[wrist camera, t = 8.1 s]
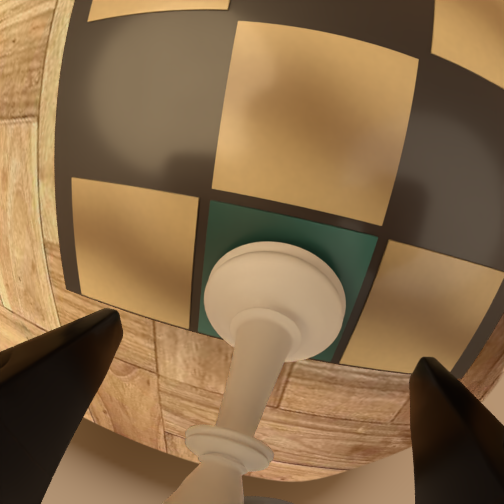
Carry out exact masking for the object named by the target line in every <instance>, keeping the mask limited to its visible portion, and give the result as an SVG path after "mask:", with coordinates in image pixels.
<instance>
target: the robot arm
mask: <svg viewBox="0 0 504 504" xmlns="http://www.w3.org/2000/svg"><path fill="white" fill-rule="evenodd" d="M122 337H123V329H122V324H121V320H120V315H119V313H118V311H116V310H114V309H110V308H104V309H102V310H99V311H97V312H95V313H92V314H90V315H87V316H85V317H83V318H80V319H78V320H75V321H73V322H71V323H68V324H66V325H63V326H61V327H59V328H56V329H54V330H51V331H49V332H47V333H44V334H42V335H40V336H37V337H35V338H32V339H30V340H28V341H25V342H23V343H21V344H18V345H16V346H14V347H11V348H9V349H6V350H4V351H1V352H0V504H41V502H42V500H43V497H44V495H45V493H46V491H47V488H48V486H49V484H50V482H51V480H52V477H53V475H54V473H55V471H56V469H57V467H58V465H59V463H60V461H61V459H62V457H63V455H64V453H65V451H66V449H67V447H68V445H69V443H70V441H71V439H72V437H73V435H74V433H75V431H76V429H77V428H78V426H79V424H80V422H81V420H82V418H83V416H84V414H85V413H86V411H87V409H88V407H89V405H90V403H91V402H92V400H93V398H94V396H95V394H96V392H97V391H98V389H99V387H100V385H101V384H102V382H103V380H104V378H105V376H106V374H107V372H108V370H109V367H110V365H111V363H112V360H113V358H114V356H115V353H116V351H117V349H118V347H119V345H120V342H121V340H122ZM409 389H410V429H411V440H412V450H413V463H414V480H415V504H504V426H503V425H502V424H501V423H500V422H499V421H498V420H497V419H496V417H495V416H494V415H493V414H492V413H491V412H490V411H489V410H488V409H487V408H486V407H485V406H484V405H483V404H482V403H481V402H480V401H479V400H478V399H477V398H476V397H475V396H474V395H473V394H472V393H471V392H470V391H469V390H468V389H467V388H466V387H465V386H464V385H463V384H462V383H461V382H460V381H459V380H458V379H457V378H456V377H454V376H453V375H452V374H451V373H450V372H449V371H448V370H447V369H446V368H445V367H444V366H443V365H442V364H441V363H440V362H439V361H438V360H437V359H436V358H434V357H421V358H420V360H419V361H418V363H417V365H416V367H415V369H414V371H413V373H412V375H411V377H410V381H409Z"/></svg>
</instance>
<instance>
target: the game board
mask: <svg viewBox="0 0 504 504" xmlns="http://www.w3.org/2000/svg"><path fill="white" fill-rule="evenodd" d="M54 166H55V199H56V214H57V226H58V236H59V245H60V253H61V260H62V267H63V274H64V280H65V285H66V289H67V290H69V291H72V292H74V293H77V294H80V295H82V296H85V297H88V298H90V299H93V300H96V301H98V302H101V303H104V304H107V305H110V306H113V307H115V308H118V309H121V310H124V311H127V312H130V313H133V314H136V315H139V316H142V317H145V318H149V319H152V320H155V321H158V322H161V323H165V324H168V325H171V326H175V327H178V328H182V329H185V330H189V331H192V332H196V333H199V334H203V335H207V336H210V337H214V338H218V339H222V340H224V339H223V338H222V337H221V336H220V335H219V334H218V333H217V332H216V331H215V329H214V328H213V326H212V325H211V323H210V321H209V319H208V317H207V314H206V311H205V306H204V292H205V288H206V285H207V282H208V280H209V276H210V273H211V271H212V269H213V267H214V266H215V264H216V263H217V262H218V261H219V260H220V259H221V258H222V257H223V256H224V255H225V254H227V253H228V252H230V251H231V250H233V249H235V248H237V247H239V246H242V245H245V244H249V243H254V242H264V241H270V242H281V243H286V244H291V245H294V246H297V247H300V248H302V249H305V250H307V251H309V252H311V253H312V254H314V255H316V256H317V257H319V258H320V259H321V260H323V261H324V262H325V263H326V264H327V265H328V266H329V267H330V268H331V269H332V270H333V271H334V273H335V274H336V275H337V277H338V279H339V280H340V282H341V284H342V287H343V290H344V293H345V298H346V309H345V315H344V318H343V323H342V327H341V330H340V332H339V334H338V336H337V337H336V339H335V340H334V341H333V343H332V344H331V345H330V346H329V347H327V348H326V349H325V350H324V351H322V352H321V353H319V354H317V355H315V356H313V357H310V358H308V359H311V360H316V361H322V362H328V363H333V364H339V365H345V366H351V367H358V368H364V369H371V370H378V371H386V372H394V373H402V374H411V375H412V373H413V371H414V369H415V367H416V365H417V363H418V361H419V360H420V358H421V357H434V358H436V359H437V360H438V361H439V362H440V363H441V364H442V365H443V366H444V367H445V368H446V369H447V370H448V371H449V372H450V373H451V374H452V375H453V376H454V377H456V378H457V379H462V378H463V376H464V375H465V373H466V372H467V371H468V369H469V368H470V366H471V365H472V363H473V362H474V361H475V359H476V358H477V356H478V355H479V353H480V351H481V350H482V348H483V347H484V345H485V344H486V342H487V340H488V339H489V337H490V335H491V334H492V332H493V330H494V329H495V327H496V325H497V324H498V322H499V320H500V318H501V316H502V315H503V313H504V0H75V2H74V6H73V10H72V14H71V18H70V23H69V27H68V32H67V37H66V42H65V47H64V53H63V59H62V65H61V72H60V79H59V88H58V97H57V109H56V124H55V156H54Z"/></svg>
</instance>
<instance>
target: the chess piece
mask: <svg viewBox="0 0 504 504" xmlns="http://www.w3.org/2000/svg"><path fill="white" fill-rule="evenodd" d="M204 306H205V311H206V314H207V317H208V319H209V321H210V323H211V325H212V326H213V328H214V329H215V331H216V332H217V333H218V334H219V335H220V336H221V337H222V338H223V339H224V340H225V341H226V342H227V343H228V344H230V345H231V346H232V347H234V351H233V356H232V361H231V365H230V370H229V375H228V379H227V383H226V388H225V392H224V396H223V400H222V403H221V407H220V411H219V415H218V419H217V422H216V426H215V425H194V426H191V427H189V428H188V429H187V430H186V439H185V444H186V446H187V447H188V449H189V450H190V451H192V452H193V453H194V454H195V455H197V456H198V459H199V461H200V462H201V463H200V464H199V466H197V467H196V468H195V469H194V470H193V471H192V472H191V473H190V474H189V475H188V476H187V477H186V479H185V480H184V481H183V482H182V484H181V485H180V487H179V488H178V489H177V490H176V491H175V492H174V493H173V494H172V495H171V496H170V497H169V498H168V499H167V500H165V501H164V502H163V503H162V504H243V503H244V493H243V484H242V475H244V474H246V473H247V472H252V471H260V470H264V469H266V468H267V467H268V466H269V462H271V461H272V460H273V458H274V453H273V451H272V450H271V448H270V447H269V446H267V445H266V444H265V443H263V442H262V441H260V440H258V439H256V438H254V437H253V436H254V434H255V431H256V429H257V427H258V424H259V422H260V419H261V417H262V414H263V412H264V409H265V407H266V404H267V402H268V400H269V397H270V395H271V392H272V390H273V388H274V385H275V383H276V381H277V378H278V376H279V374H280V371H281V369H282V366H283V364H284V362H295V361H300V360H304V359H308V358H310V357H313V356H315V355H317V354H319V353H321V352H322V351H324V350H325V349H326V348H327V347H329V346H330V345H331V344H332V343H333V341H334V340H335V339H336V337H337V336H338V334H339V332H340V330H341V327H342V323H343V318H344V315H345V309H346V298H345V293H344V290H343V287H342V284H341V282H340V280H339V279H338V277H337V275H336V274H335V273H334V271H333V270H332V269H331V268H330V267H329V266H328V265H327V264H326V263H325V262H324V261H323V260H321V259H320V258H319V257H317V256H316V255H314V254H312V253H311V252H309V251H307V250H305V249H302V248H300V247H297V246H294V245H291V244H286V243H281V242H270V241H264V242H254V243H249V244H245V245H242V246H239V247H237V248H235V249H233V250H231V251H230V252H228V253H227V254H225V255H224V256H223V257H222V258H221V259H220V260H219V261H218V262H217V263H216V264H215V266H214V267H213V269H212V271H211V273H210V276H209V280H208V282H207V285H206V288H205V292H204Z"/></svg>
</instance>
